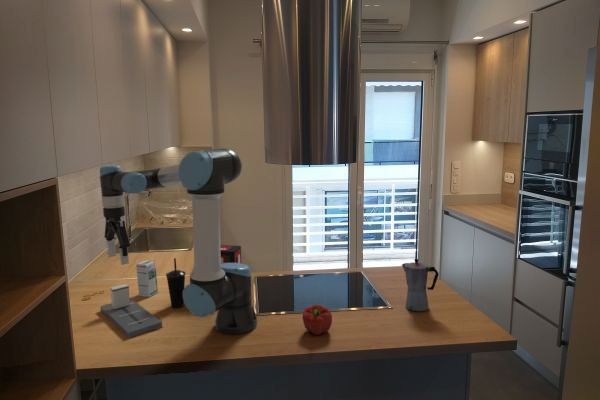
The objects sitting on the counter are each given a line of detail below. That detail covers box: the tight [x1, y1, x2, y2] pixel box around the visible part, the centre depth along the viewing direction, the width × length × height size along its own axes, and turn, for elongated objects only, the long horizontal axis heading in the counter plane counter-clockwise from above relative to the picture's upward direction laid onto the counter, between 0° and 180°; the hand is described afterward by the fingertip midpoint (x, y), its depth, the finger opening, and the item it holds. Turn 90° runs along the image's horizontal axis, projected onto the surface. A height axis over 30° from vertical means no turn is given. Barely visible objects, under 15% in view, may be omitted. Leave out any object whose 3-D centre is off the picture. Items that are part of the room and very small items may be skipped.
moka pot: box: [401, 258, 439, 312], centre depth 172 cm, size 10×15×20 cm, turn 55°
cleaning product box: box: [220, 244, 242, 264], centre depth 191 cm, size 16×9×20 cm, turn 80°
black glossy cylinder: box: [165, 257, 186, 309], centre depth 176 cm, size 8×8×20 cm
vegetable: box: [302, 304, 333, 336], centre depth 153 cm, size 11×10×10 cm
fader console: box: [100, 297, 163, 339], centre depth 166 cm, size 30×12×2 cm, turn 41°
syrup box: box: [135, 259, 159, 298], centre depth 189 cm, size 6×6×14 cm
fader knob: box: [109, 283, 130, 309], centre depth 172 cm, size 3×6×8 cm, turn 131°
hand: (118, 260), depth 170 cm, fingers open, 13 cm apart
